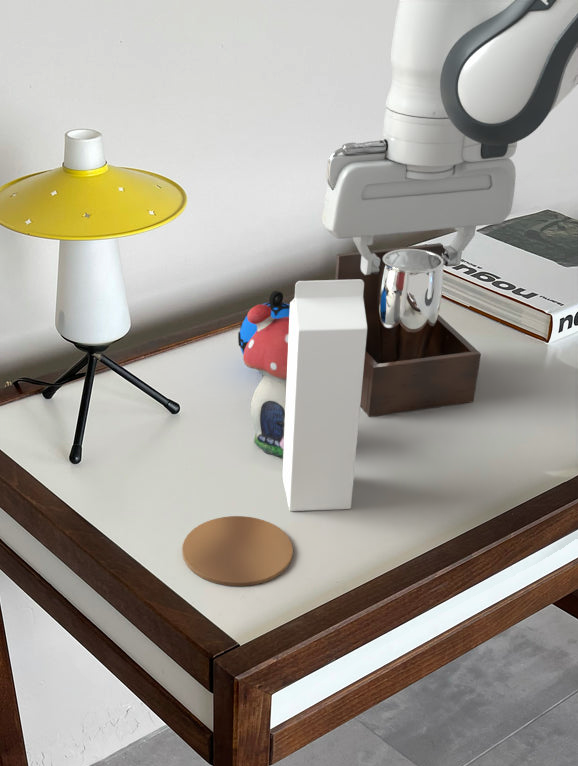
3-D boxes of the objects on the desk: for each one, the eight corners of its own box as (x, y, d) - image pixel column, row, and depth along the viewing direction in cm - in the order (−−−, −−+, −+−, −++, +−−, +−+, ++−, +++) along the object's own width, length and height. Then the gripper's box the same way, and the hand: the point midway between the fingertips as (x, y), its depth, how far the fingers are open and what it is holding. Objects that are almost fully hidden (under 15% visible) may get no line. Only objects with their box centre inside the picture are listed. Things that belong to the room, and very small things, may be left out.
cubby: (426, 353, 124) (440, 242, 116) (473, 402, 114) (492, 284, 106) (329, 366, 122) (336, 253, 113) (368, 416, 112) (380, 297, 103)
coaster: (273, 512, 97) (273, 508, 97) (308, 575, 89) (308, 572, 89) (171, 528, 95) (171, 525, 95) (197, 594, 87) (197, 591, 87)
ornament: (272, 395, 116) (275, 313, 110) (223, 369, 121) (223, 290, 115) (325, 372, 120) (330, 292, 115) (275, 348, 126) (278, 271, 120)
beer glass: (356, 382, 118) (367, 259, 109) (394, 364, 122) (407, 243, 113) (403, 404, 114) (419, 277, 105) (441, 384, 118) (459, 259, 109)
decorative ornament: (231, 438, 108) (232, 306, 99) (270, 415, 112) (274, 287, 103) (300, 469, 103) (307, 333, 94) (338, 444, 107) (349, 312, 98)
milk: (351, 510, 97) (372, 294, 84) (288, 512, 97) (300, 295, 84) (340, 475, 102) (359, 266, 89) (281, 477, 102) (291, 267, 89)
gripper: (340, 153, 97) (329, 289, 105) (532, 138, 101) (508, 270, 109) (318, 135, 102) (309, 266, 110) (502, 122, 106) (481, 249, 114)
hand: (410, 268), depth 110 cm, fingers open, 8 cm apart
